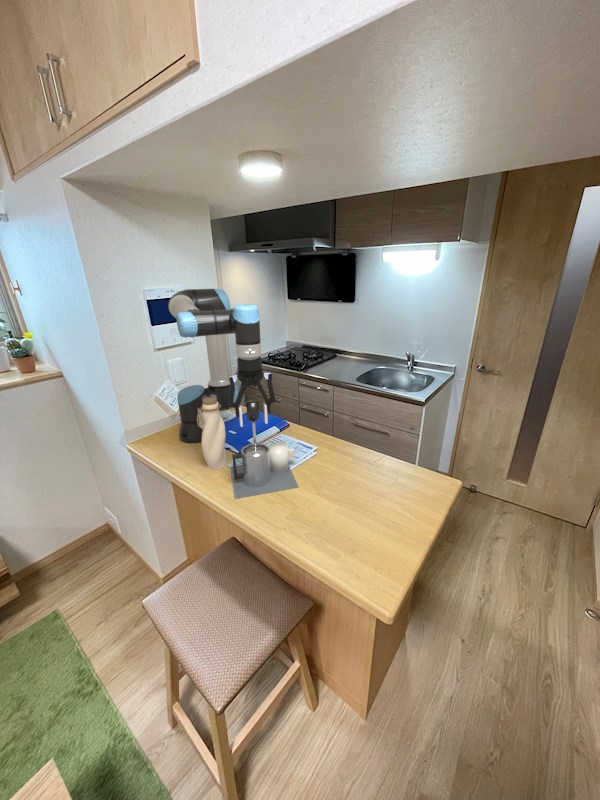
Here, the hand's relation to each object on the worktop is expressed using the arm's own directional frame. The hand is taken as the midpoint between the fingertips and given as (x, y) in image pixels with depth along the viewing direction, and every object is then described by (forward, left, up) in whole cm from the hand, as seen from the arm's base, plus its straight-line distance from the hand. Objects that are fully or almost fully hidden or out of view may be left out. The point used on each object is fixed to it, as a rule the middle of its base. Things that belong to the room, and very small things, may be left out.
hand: (253, 423), depth 106 cm
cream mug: (-5, +10, -22) cm, 25 cm away
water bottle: (-14, -14, -23) cm, 31 cm away
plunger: (0, 0, -11) cm, 11 cm away
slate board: (-1, +2, -23) cm, 23 cm away
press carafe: (0, -2, -22) cm, 22 cm away
